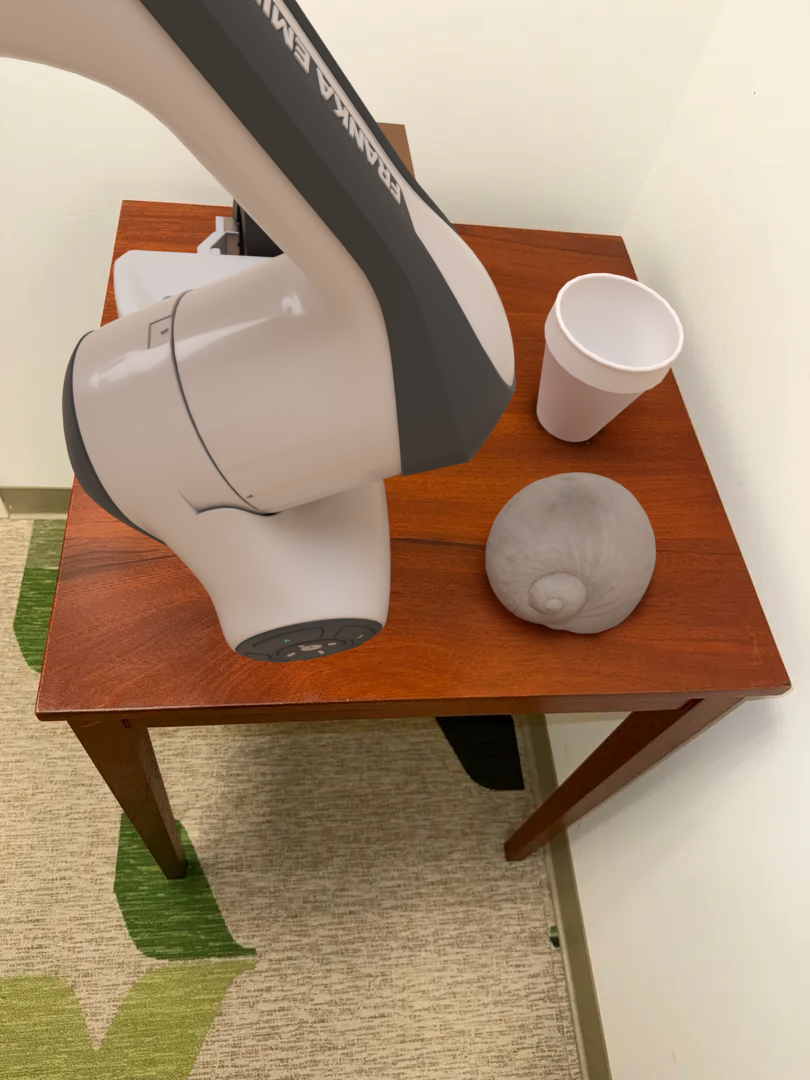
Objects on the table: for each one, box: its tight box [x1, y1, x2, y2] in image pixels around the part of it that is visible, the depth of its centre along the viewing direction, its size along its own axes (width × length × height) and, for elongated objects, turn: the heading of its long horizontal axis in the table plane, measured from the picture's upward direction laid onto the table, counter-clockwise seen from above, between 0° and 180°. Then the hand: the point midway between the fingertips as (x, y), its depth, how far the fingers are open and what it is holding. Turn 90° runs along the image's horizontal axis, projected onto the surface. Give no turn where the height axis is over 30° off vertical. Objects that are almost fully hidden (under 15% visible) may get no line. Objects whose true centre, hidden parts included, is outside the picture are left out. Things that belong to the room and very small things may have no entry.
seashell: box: [485, 471, 657, 634], centre depth 68 cm, size 15×14×15 cm
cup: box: [536, 272, 685, 443], centre depth 75 cm, size 12×12×14 cm
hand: (284, 229), depth 50 cm, fingers closed on phone stand, 6 cm apart
